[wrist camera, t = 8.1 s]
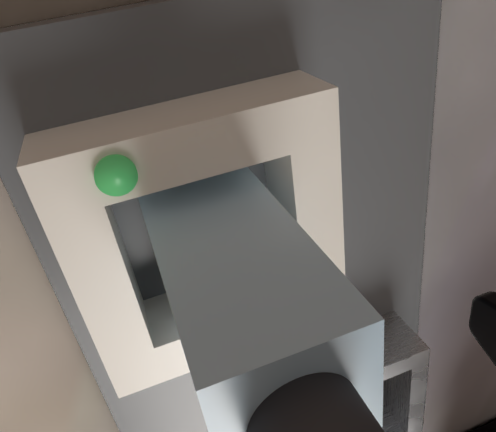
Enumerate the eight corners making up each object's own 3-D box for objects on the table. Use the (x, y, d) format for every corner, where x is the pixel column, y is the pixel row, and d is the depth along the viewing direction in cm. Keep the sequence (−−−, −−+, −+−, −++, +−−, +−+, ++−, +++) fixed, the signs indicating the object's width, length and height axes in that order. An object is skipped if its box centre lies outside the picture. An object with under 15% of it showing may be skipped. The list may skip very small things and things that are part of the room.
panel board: (420, -50, 15) (445, -52, 14) (399, 394, 26) (412, 411, 25) (-51, 37, 12) (-62, 44, 11) (157, 496, 23) (161, 520, 22)
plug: (240, 158, 15) (468, 412, 6) (254, 245, 16) (447, 534, 8) (134, 187, 14) (233, 518, 6) (161, 275, 16) (267, 626, 7)
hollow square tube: (393, 309, 20) (430, 348, 18) (390, 398, 24) (421, 440, 22) (264, 358, 19) (288, 405, 17) (280, 445, 22) (301, 494, 20)
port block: (299, 69, 14) (341, 88, 12) (315, 275, 18) (349, 317, 16) (25, 135, 12) (15, 171, 10) (112, 345, 16) (119, 403, 14)
